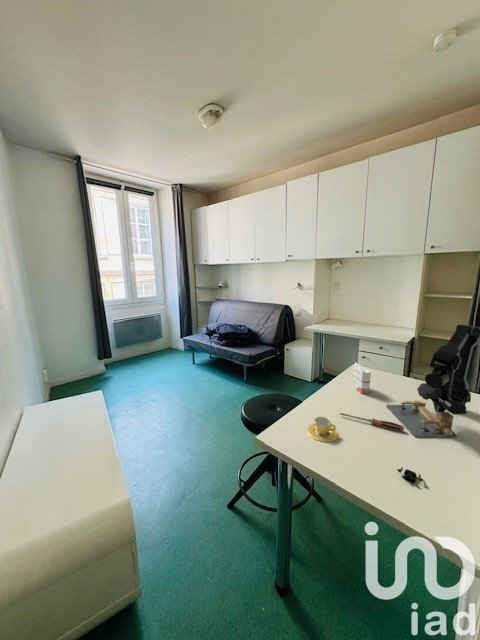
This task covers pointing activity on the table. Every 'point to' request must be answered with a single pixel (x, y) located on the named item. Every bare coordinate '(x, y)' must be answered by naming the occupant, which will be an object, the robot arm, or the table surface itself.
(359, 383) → the ink cartridge box
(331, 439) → the cup
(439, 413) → the slider leg
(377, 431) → the table surface
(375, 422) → the screwdriver
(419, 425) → the steel plate
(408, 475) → the wireless earbuds
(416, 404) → the compass bar
